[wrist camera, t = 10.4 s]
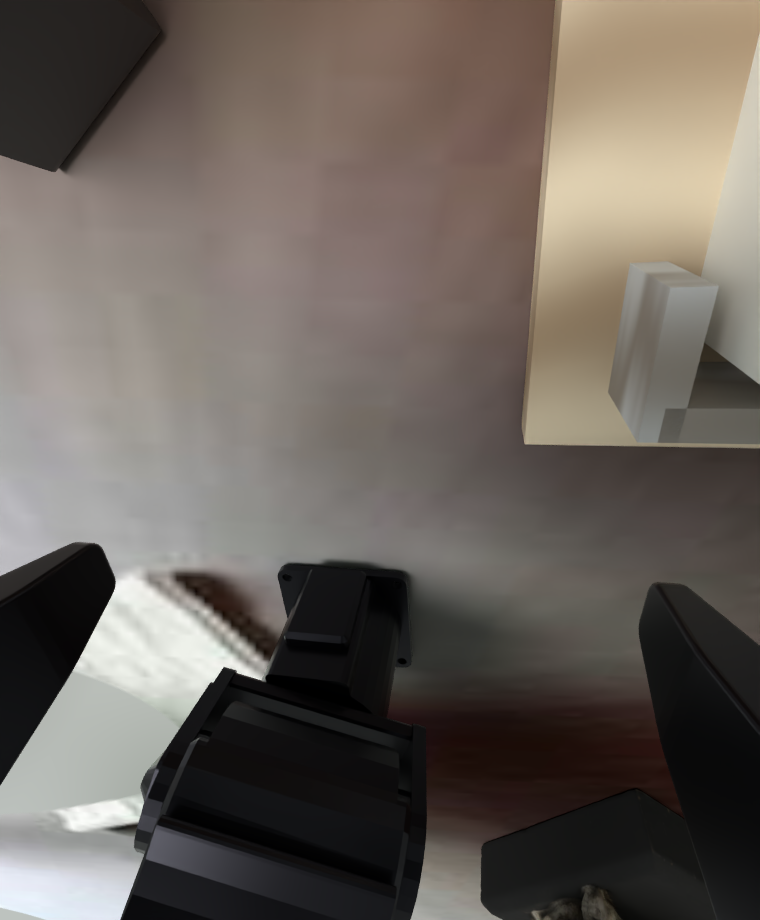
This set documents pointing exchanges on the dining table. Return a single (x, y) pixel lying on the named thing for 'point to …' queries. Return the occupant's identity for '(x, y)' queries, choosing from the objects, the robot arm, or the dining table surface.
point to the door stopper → (63, 70)
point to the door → (739, 243)
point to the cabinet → (636, 227)
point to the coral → (598, 866)
